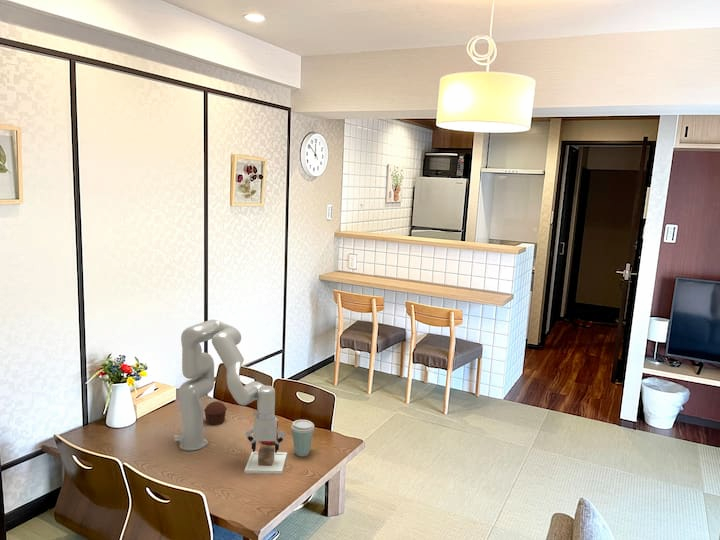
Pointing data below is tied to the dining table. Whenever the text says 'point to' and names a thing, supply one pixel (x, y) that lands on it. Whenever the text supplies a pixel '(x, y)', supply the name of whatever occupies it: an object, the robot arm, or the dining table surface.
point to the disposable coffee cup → (302, 436)
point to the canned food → (270, 441)
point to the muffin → (215, 413)
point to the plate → (274, 469)
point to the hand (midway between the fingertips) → (265, 451)
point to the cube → (266, 456)
